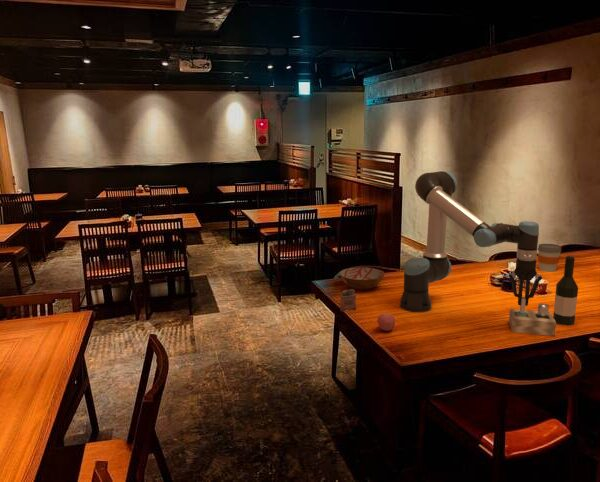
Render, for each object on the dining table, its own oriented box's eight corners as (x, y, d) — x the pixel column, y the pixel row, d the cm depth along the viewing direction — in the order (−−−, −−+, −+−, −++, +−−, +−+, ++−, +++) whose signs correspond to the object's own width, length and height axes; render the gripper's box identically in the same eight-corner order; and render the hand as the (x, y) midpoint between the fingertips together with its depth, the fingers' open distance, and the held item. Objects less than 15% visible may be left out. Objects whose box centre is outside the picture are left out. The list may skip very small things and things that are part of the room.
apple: (398, 329, 200) (398, 312, 199) (389, 334, 195) (389, 317, 193) (383, 325, 205) (383, 308, 204) (374, 330, 200) (374, 313, 198)
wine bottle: (555, 317, 210) (561, 252, 204) (576, 321, 205) (583, 255, 199) (550, 322, 204) (557, 256, 198) (572, 327, 199) (579, 259, 193)
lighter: (341, 311, 223) (341, 291, 220) (339, 309, 226) (338, 289, 224) (357, 309, 225) (357, 290, 222) (354, 307, 228) (354, 288, 226)
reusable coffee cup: (531, 268, 288) (533, 244, 285) (547, 266, 292) (549, 242, 289) (547, 273, 277) (549, 249, 273) (564, 271, 280) (566, 247, 277)
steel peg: (537, 319, 195) (539, 306, 194) (536, 315, 199) (537, 302, 197) (548, 320, 194) (549, 307, 192) (546, 316, 197) (547, 303, 196)
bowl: (393, 290, 253) (393, 276, 251) (352, 296, 244) (352, 282, 242) (369, 278, 276) (370, 265, 274) (331, 283, 267) (331, 270, 265)
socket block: (512, 332, 195) (513, 318, 194) (508, 321, 206) (509, 308, 205) (554, 336, 190) (556, 322, 189) (548, 325, 202) (550, 312, 200)
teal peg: (516, 327, 198) (517, 314, 197) (515, 323, 202) (516, 310, 201) (526, 327, 197) (527, 315, 196) (525, 324, 201) (526, 311, 199)
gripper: (510, 260, 192) (506, 314, 196) (545, 261, 188) (540, 317, 193) (508, 256, 199) (504, 308, 203) (542, 257, 195) (537, 310, 200)
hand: (522, 312), depth 198 cm, fingers closed
